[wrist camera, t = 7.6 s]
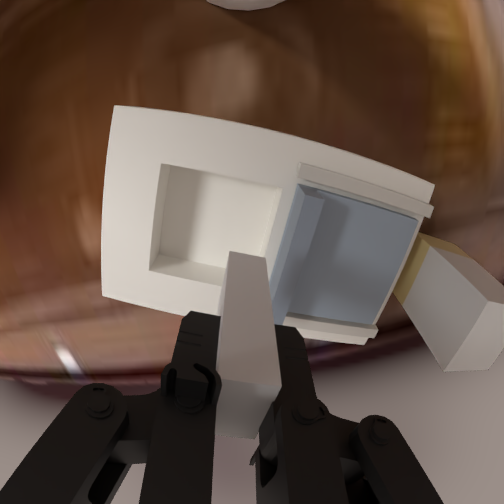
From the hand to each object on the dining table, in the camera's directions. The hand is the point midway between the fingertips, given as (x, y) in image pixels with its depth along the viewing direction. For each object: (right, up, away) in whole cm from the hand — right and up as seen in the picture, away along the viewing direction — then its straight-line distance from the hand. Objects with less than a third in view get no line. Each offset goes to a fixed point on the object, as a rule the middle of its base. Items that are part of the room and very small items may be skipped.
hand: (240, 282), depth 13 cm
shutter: (+6, +1, +6) cm, 8 cm away
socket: (+1, +3, +8) cm, 9 cm away
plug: (+15, 0, +9) cm, 17 cm away
